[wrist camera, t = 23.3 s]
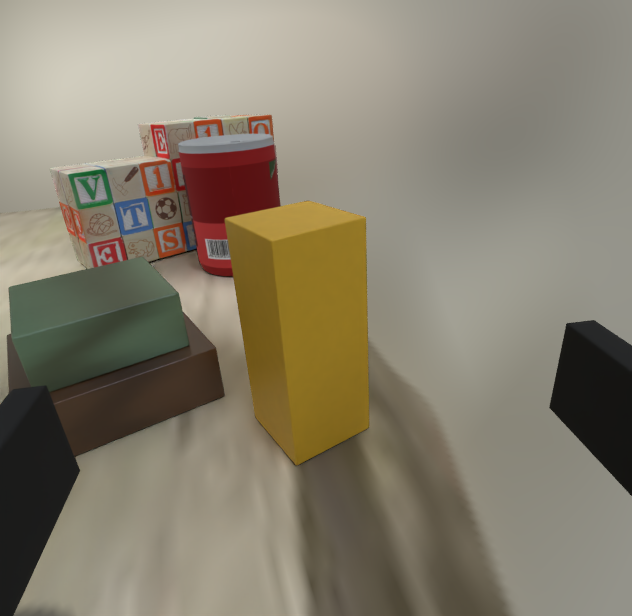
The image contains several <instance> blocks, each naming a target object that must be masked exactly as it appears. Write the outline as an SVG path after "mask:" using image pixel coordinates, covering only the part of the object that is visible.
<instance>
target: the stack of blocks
mask: <svg viewBox="0 0 632 616" xmlns="http://www.w3.org/2000/svg"><path fill="white" fill-rule="evenodd" d="M138 127H139V132H140V137H141V143H142V148H143V153H144V155H143V156H138V157H131V158H123V159H114V160H106V161H99V162H92V163H85V164H77V165H69V166H62V167H55V168H50V172H51V175H52V178H53V182H54V185H55V189H56V192H57V195H58V198H59V203H60V207H61V210H62V213H63V217H64V220H65V223H66V226H67V229H68V232H69V235H70V238H71V241H72V244H73V248H74V251H75V254H76V257H77V260H78V261H79V262H80V263H81V264H83V265H84V266H85V267H86V268H87V269H90V268H94V267H99V266H103V265H107V264H112V263H116V262H121V261H125V260H129V259H134V258H138V257H144V258H145V259H146V260H147V261H148V262H149V261H153V260H156V259H158V258H164V257H168V256H172V255H175V254H179V253H183V252H186V251H189V250H193V249H197V247H196V242H195V237H194V231H193V226H192V221H191V216H190V210H189V205H188V200H187V195H186V190H185V184H184V179H183V174H182V169H181V162H180V156H179V147H178V144H179V143H180V142H182V141H186V140H191V139H197V138H204V137H212V136H223V135H236V134H269V135H271V136H273V125H272V116H271V115H240V116H206V117H195V118H194V119H185V120H175V121H167V122H154V123H142V124H138ZM273 141H274V136H273ZM274 147H275V155H276V146H275V145H274ZM276 165H277V157H276ZM277 173H278V169H277ZM277 176H278V175H277Z"/></svg>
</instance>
